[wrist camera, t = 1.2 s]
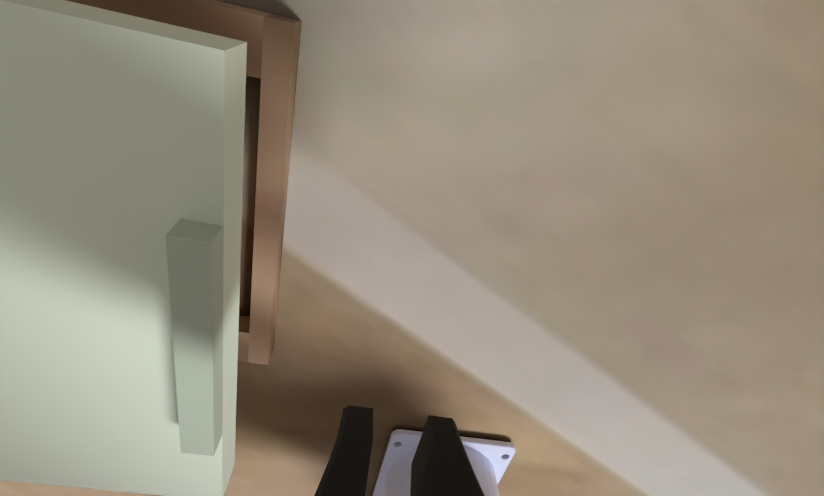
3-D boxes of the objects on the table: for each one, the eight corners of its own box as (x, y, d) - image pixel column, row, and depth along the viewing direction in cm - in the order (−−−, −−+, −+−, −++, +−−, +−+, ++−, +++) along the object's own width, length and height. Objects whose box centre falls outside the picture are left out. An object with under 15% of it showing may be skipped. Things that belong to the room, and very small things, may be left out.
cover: (234, 463, 18) (214, 523, 16) (-40, 435, 17) (-99, 496, 15) (246, 42, 10) (209, 56, 8) (-278, -79, 9) (-478, -97, 7)
